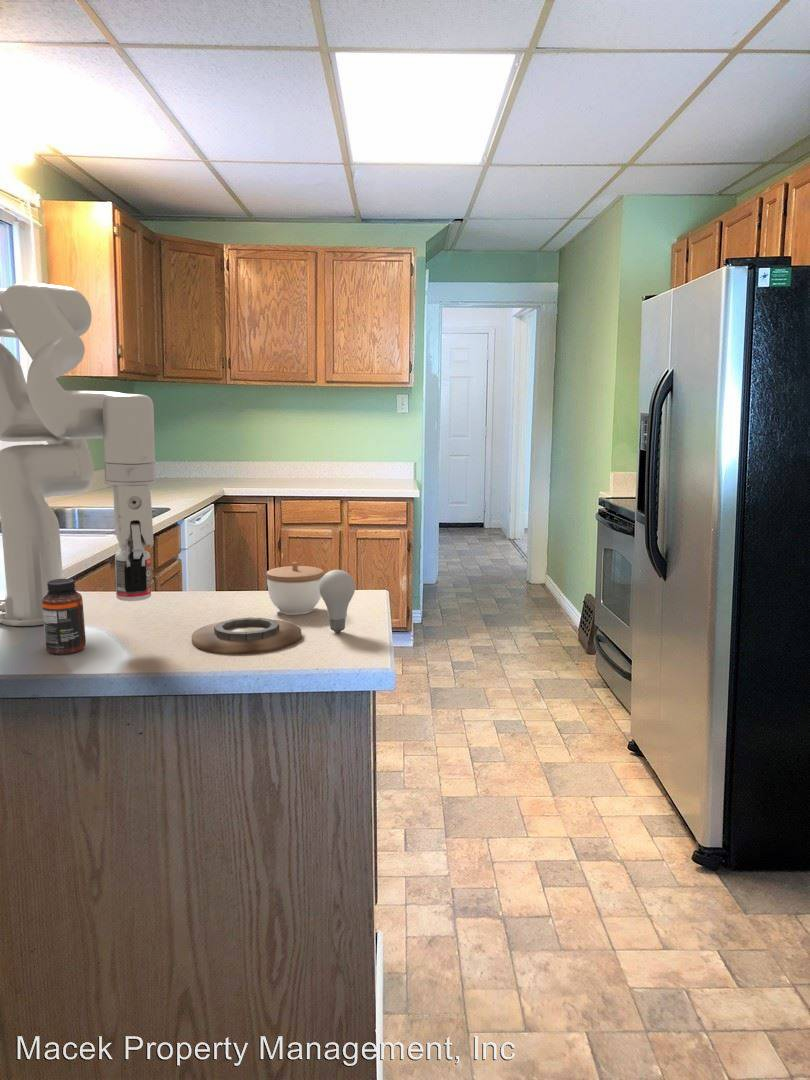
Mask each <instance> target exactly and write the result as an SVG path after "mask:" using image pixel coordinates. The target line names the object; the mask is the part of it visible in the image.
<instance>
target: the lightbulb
mask: <svg viewBox="0 0 810 1080" xmlns="http://www.w3.org/2000/svg"><path fill="white" fill-rule="evenodd" d="M319 591H320V594H321V598H322V600H323V602H324V604H325V606H326V609H327V615H328V618H329V628H330V630H331V631H333V632H334V633H336V634H340V633H341V632H342V631H344V630H345V628H346V618H347V615H348V608H349V604H350V603H351V600H352V598H353V596H354V595H355V591H356V584H355V580H354V578H353V577H352V576H351V574H349V573H348V572H347V571H344V570H342V569H331V570H330V571H328V572H326V573H325V574H324V576H323V577H322V579H321V581H320V584H319Z"/></svg>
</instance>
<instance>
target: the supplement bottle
mask: <svg viewBox="0 0 810 1080" xmlns="http://www.w3.org/2000/svg"><path fill="white" fill-rule="evenodd" d="M75 582H76V581H75V579H72V578H63V579H56V580H51V581H49V582H48V583H47V586H48V593H47V595H46V596H44V597H43V600H42V606H43V618H44V625H43V628H44V640H45V651H47V653H48V654H52V655H55V656H56V655H57V656H58V655H60V656H61V655H68V654H74V653H75V654H76V653H78V652H81V651H82V650H84V649H85V648H86V646H87V645H86V644H87V642H86V641H87V640H86V639H87V638H86V628H85V627H86V626H85V615H84V602H83V601H84V600H83V596H82V594H81V592H79V591H77V590H76V589H75V588H76V583H75Z"/></svg>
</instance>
